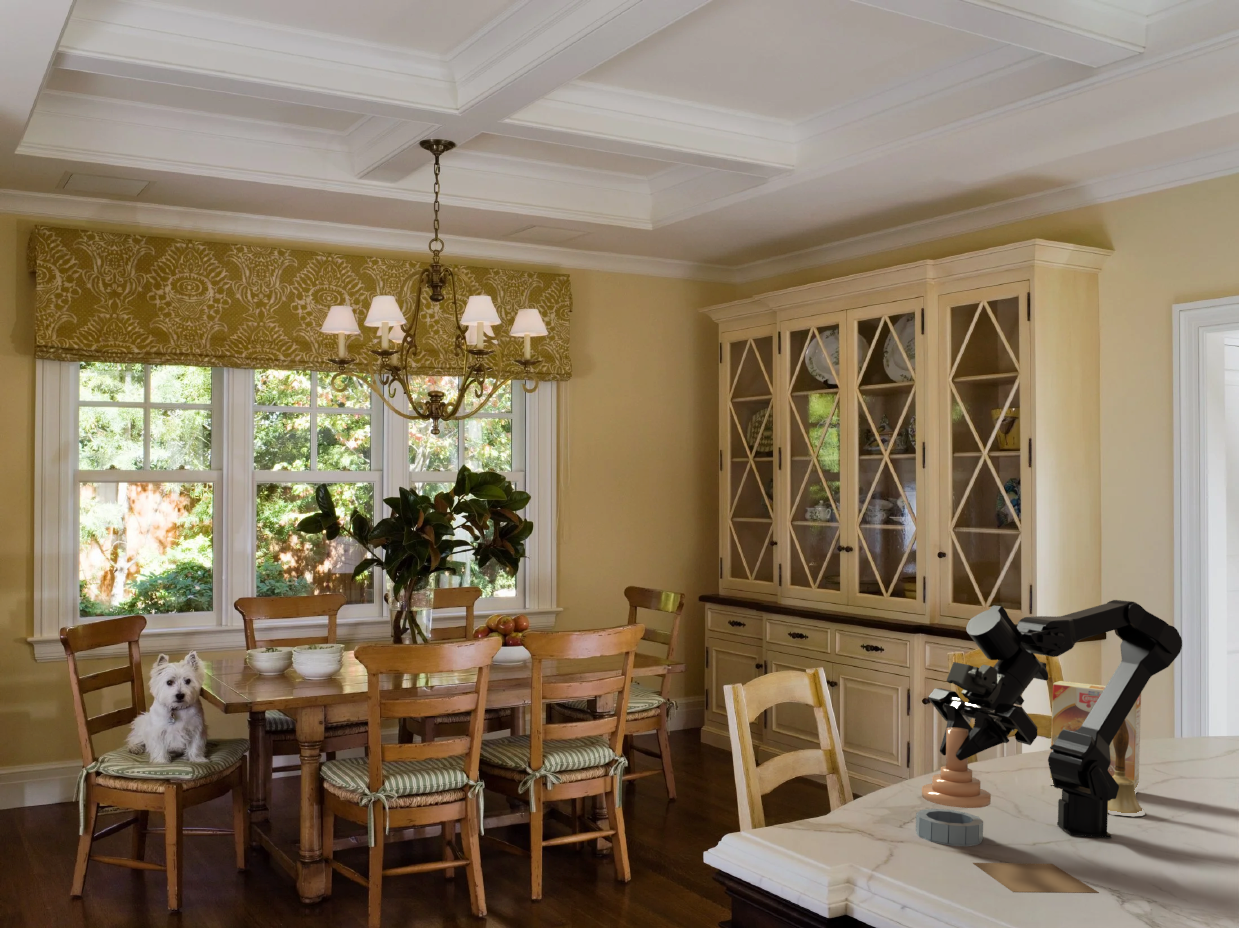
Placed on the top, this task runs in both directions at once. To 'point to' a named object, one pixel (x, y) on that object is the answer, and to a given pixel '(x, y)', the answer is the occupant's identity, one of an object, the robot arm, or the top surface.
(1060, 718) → the coffeecake box
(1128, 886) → the top surface
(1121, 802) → the hand bell
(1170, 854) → the top surface
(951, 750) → the lid
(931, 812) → the blue-grey faceted ring
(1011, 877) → the plate
